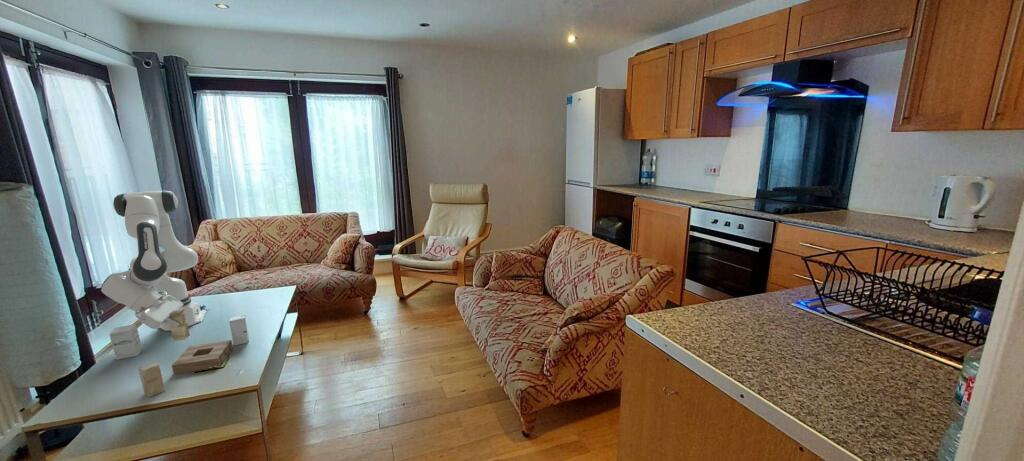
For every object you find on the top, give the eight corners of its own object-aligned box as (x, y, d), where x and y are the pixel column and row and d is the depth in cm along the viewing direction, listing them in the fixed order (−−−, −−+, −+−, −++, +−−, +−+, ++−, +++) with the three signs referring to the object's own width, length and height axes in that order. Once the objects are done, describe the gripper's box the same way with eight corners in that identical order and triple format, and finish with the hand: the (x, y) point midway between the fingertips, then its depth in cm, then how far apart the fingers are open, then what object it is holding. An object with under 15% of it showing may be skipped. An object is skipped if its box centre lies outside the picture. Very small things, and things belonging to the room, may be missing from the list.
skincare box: (233, 346, 185) (228, 321, 183) (234, 342, 189) (228, 317, 186) (249, 342, 188) (244, 318, 186) (249, 338, 192) (244, 314, 189)
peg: (178, 336, 171) (172, 310, 168) (190, 335, 172) (184, 308, 169) (173, 341, 167) (166, 314, 164) (185, 339, 168) (179, 312, 165)
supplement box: (115, 360, 176) (108, 334, 173) (121, 353, 183) (114, 327, 180) (137, 356, 180) (130, 329, 177) (143, 348, 186) (136, 323, 183)
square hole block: (191, 354, 179) (189, 346, 178) (233, 348, 184) (231, 339, 183) (173, 374, 164) (171, 365, 163) (219, 366, 169) (217, 357, 168)
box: (148, 397, 150) (141, 370, 147) (144, 394, 152) (136, 367, 149) (166, 390, 154) (159, 363, 151) (161, 386, 156) (154, 360, 154)
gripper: (138, 307, 154) (174, 327, 158) (165, 289, 173) (197, 307, 178) (126, 320, 153) (163, 340, 158) (155, 300, 173) (187, 318, 177)
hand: (181, 322), depth 168 cm, fingers closed on peg, 4 cm apart
